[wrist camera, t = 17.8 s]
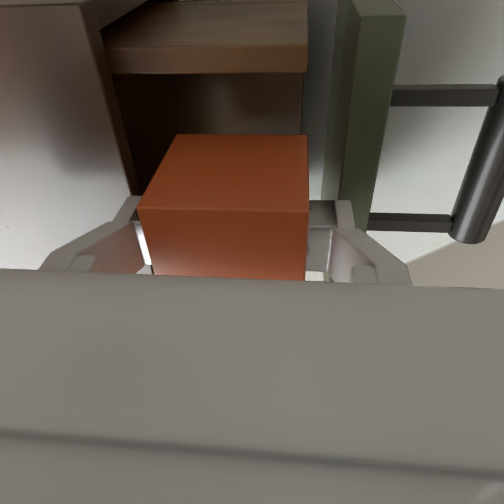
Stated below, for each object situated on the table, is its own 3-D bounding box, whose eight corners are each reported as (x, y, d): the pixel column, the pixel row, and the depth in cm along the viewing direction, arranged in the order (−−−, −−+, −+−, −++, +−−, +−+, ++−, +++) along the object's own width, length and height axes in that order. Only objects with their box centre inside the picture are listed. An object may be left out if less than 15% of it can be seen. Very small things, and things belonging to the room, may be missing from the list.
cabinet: (172, -39, 17) (79, 2, 10) (205, 204, 26) (166, 322, 18) (-131, -28, 19) (-400, 15, 12) (-8, 199, 27) (-121, 306, 20)
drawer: (516, -30, 16) (641, 10, 10) (438, 210, 23) (484, 313, 17) (55, -15, 18) (-68, 25, 12) (120, 202, 25) (64, 293, 19)
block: (176, 133, 14) (135, 207, 10) (308, 133, 13) (309, 211, 10) (193, 235, 17) (165, 319, 13) (301, 239, 16) (301, 326, 13)
